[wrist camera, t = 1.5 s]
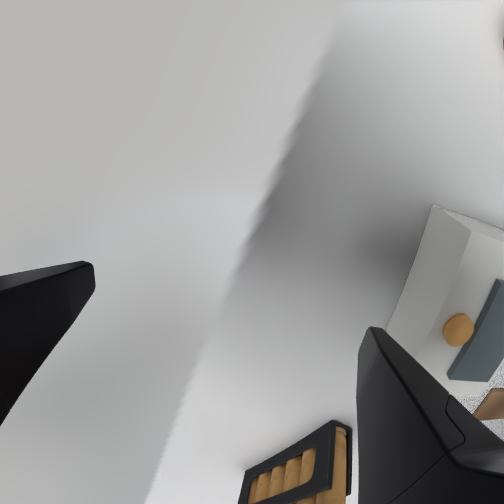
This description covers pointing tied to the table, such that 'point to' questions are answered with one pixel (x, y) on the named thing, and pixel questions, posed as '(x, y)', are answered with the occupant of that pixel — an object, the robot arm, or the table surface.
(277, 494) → the ammunition clip
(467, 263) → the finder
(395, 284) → the table surface
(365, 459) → the robot arm
